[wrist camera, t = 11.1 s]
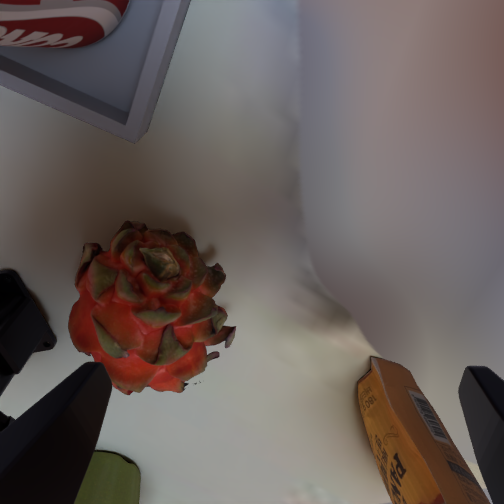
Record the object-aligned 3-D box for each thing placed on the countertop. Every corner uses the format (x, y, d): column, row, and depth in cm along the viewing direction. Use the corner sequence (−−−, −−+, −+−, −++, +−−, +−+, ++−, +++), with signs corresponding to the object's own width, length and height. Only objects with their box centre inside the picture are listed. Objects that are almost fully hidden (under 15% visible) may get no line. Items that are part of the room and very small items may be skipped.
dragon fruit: (160, 174, 22) (190, 310, 29) (9, 228, 18) (87, 371, 25) (249, 230, 17) (258, 379, 24) (63, 325, 13) (142, 470, 20)
